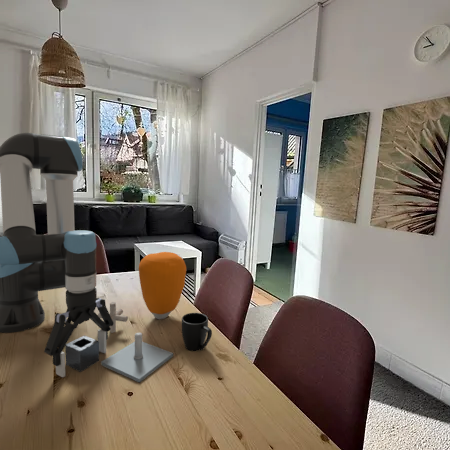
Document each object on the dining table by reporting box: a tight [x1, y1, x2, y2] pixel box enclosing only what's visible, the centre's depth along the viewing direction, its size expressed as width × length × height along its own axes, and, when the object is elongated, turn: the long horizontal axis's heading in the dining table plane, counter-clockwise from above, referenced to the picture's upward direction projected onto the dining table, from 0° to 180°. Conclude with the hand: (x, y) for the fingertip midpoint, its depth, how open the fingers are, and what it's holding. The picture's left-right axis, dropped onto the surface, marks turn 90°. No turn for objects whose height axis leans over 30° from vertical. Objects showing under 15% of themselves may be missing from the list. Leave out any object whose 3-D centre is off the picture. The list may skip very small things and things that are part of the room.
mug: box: [181, 312, 213, 352], centre depth 94 cm, size 8×12×10 cm
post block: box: [100, 332, 174, 383], centre depth 87 cm, size 14×14×8 cm
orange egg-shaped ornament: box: [138, 251, 187, 320], centre depth 113 cm, size 17×17×25 cm
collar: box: [64, 335, 100, 373], centre depth 84 cm, size 6×6×6 cm
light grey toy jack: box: [97, 301, 129, 334], centre depth 102 cm, size 10×10×10 cm
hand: (82, 362), depth 85 cm, fingers open, 12 cm apart
